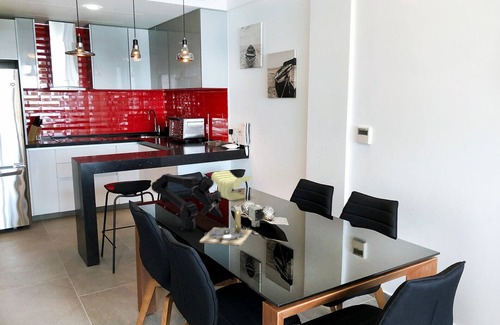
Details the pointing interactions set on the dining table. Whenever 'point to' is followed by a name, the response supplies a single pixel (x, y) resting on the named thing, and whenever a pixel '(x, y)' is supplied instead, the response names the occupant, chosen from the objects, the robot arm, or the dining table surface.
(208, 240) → the sprocket base
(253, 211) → the pneumatic valve
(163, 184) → the robot arm
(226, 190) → the slatted curved stool
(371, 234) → the dining table surface
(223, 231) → the sprocket
